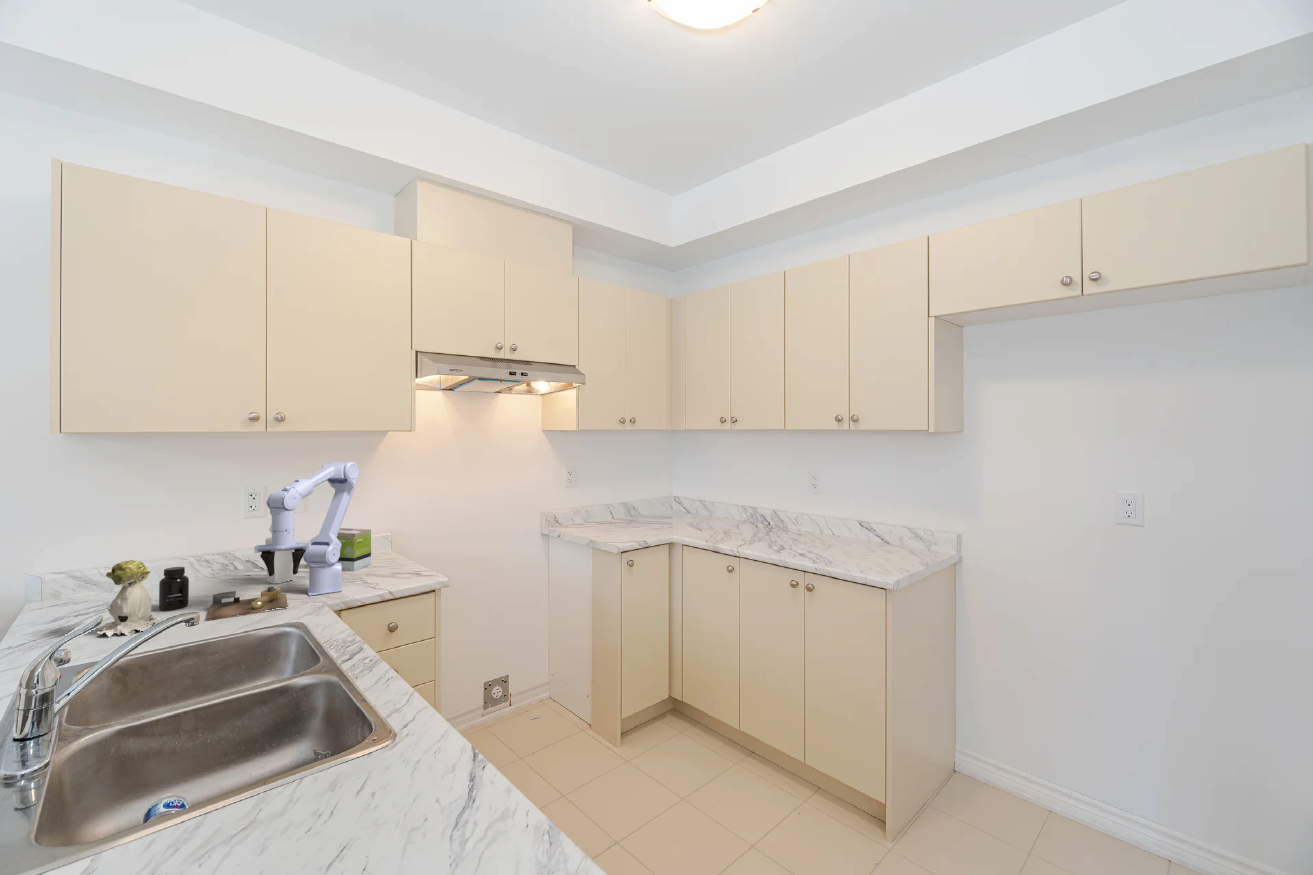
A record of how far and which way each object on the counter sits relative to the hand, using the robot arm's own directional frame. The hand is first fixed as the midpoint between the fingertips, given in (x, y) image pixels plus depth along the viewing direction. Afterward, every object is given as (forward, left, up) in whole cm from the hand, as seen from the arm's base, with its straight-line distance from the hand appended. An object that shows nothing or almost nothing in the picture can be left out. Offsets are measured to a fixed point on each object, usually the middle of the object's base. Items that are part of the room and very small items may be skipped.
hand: (283, 574), depth 172 cm
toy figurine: (+35, 0, -10) cm, 36 cm away
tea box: (-22, -45, -10) cm, 51 cm away
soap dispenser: (0, -35, -10) cm, 36 cm away
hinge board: (+9, -4, -9) cm, 13 cm away
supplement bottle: (+27, -17, -10) cm, 33 cm away
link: (+5, -3, -8) cm, 10 cm away
